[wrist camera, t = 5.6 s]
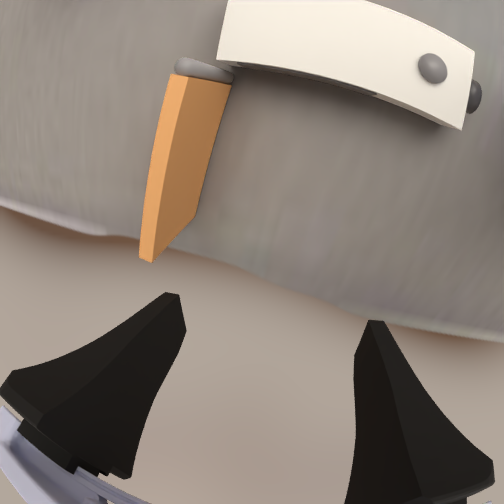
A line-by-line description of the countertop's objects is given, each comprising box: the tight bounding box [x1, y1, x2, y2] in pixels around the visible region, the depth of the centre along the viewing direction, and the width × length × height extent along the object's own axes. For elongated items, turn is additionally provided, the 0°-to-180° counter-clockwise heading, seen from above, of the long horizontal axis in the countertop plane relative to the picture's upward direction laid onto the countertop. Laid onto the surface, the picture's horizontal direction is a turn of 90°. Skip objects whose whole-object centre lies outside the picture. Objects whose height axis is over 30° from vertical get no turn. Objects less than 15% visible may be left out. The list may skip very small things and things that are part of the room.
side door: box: [139, 57, 234, 263], centre depth 13 cm, size 10×1×6 cm, turn 162°
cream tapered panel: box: [216, 0, 482, 130], centre depth 10 cm, size 14×5×3 cm, turn 80°
